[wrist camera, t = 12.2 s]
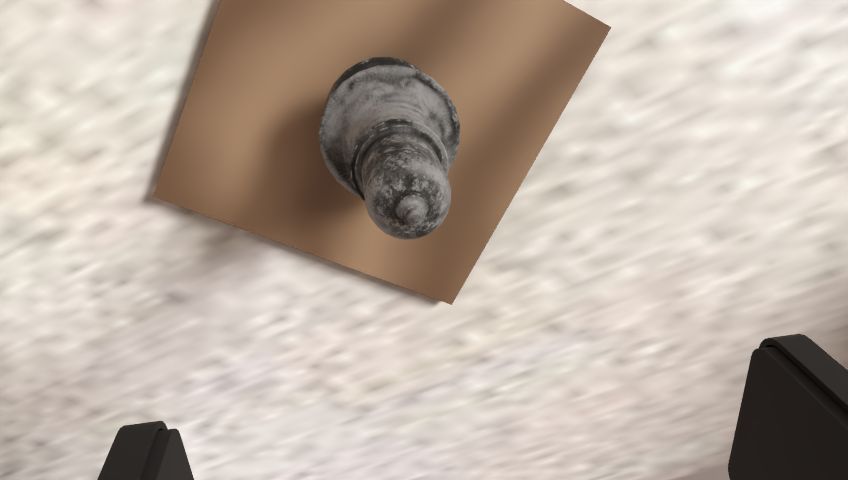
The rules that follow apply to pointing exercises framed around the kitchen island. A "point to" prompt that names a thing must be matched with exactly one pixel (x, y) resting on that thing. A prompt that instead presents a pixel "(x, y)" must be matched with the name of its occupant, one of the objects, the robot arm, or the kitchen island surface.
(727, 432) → the kitchen island surface
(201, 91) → the walnut board
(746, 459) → the robot arm
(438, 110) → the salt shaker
